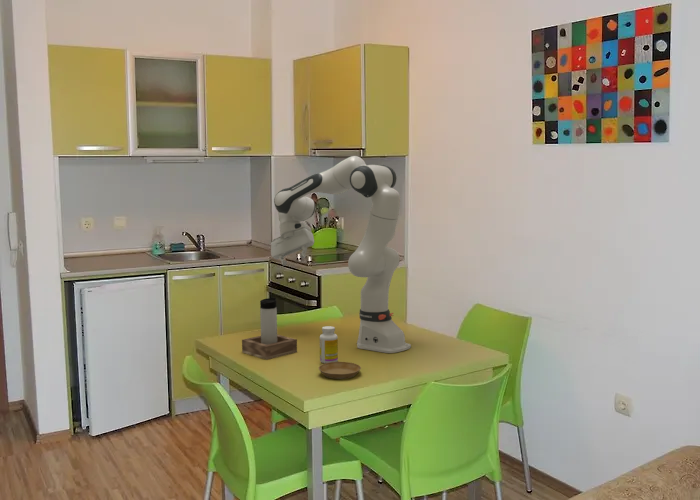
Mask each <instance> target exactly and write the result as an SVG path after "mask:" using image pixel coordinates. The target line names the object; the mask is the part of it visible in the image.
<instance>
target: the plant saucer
mask: <svg viewBox="0 0 700 500" xmlns="http://www.w3.org/2000/svg"><path fill="white" fill-rule="evenodd" d="M361 369H362V367H361V365H359V364H357V363H354V362H348V361H337V362H330V363H322V364H320V365H319V366H318V370H319V372H320V373H321V374H322V375H323V376H325V377H326V378H328V379H335V380H345V379H349V378H354V377H355V376H356V375H357V374H358V373H359V372H360V371H361Z"/></svg>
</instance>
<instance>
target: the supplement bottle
mask: <svg viewBox="0 0 700 500" xmlns="http://www.w3.org/2000/svg"><path fill="white" fill-rule="evenodd" d="M321 332H322V334H320V336H319V362H320V363H322V364H325V363H330V362H339V353H338V352H339V347H338V346H339V343H338V342H339V341H338V339H339V338H338V335H337V334H336V333H335V332H336V327H335V326H330V325H329V326H328V325H327V326H326V325H325V326H322V328H321Z"/></svg>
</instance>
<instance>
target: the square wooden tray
mask: <svg viewBox="0 0 700 500" xmlns="http://www.w3.org/2000/svg"><path fill="white" fill-rule="evenodd" d="M241 348H242V349H241V350H242V351H241V352H242V353H243V354H247V355H249V356H253V357H255V358H259V359H262V360H271V359H275V358H279V357H283V356H287V355H291V354H296V353H298V340H297V339H296V338H293V337H290V336H289V337H288V336H284V335H282V334H278V333H277V343H273V344H269V345H266V344H262V343H261V335H257V336H253V337H248V338H244V339H241Z"/></svg>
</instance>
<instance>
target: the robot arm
mask: <svg viewBox="0 0 700 500" xmlns="http://www.w3.org/2000/svg"><path fill="white" fill-rule="evenodd" d="M396 183H397V173H396V172H395V170H394V168H391V167H390V166H388V165H384V164H383V165H382V164H380V165H377V164H368V165H367V164H366V161H365V160H364V159H362V157H360V156H357V155H351V156H349V157H346V158H345V159H343V160H341V161H340V162H338V163H337V164H335V165H334V166H332V167H331V168H328V169H326V170H323V171H321V172H318V173H315V174H312V175H310V176H308V177H306V178H304V179H303V180H301V181H299V182H296V183H295V184H294V185H291V186H290V187H287V188H282V189H281V190H279V191H278V192H277V193H276V194H275V197H274V199H273V202H274V207H275V209H276V211H277V212H278V213H277V214H278V220H279V234H280V236H278V237H277V238H274V239H272V241H271V243H270V255H271V256H270V257H272V258H273V259H275V260H280V262H281V265H282V266H286V265H288V262H287V260H285V257H287V256H289V255H292V254H294V253H297V252H299V251H301V252H300V254H299V255H300V258H301V259H305V258H306V256H307V255H306V253H307V251H308V248H309V247H312V246H314V244H315V237H314V233H313V232H312V228H311V227H310V226H309V225H308V224H306V223H304V222H305V221H307V220H309V219H311V218H312V217H313V216H314V214H315V211H316V203H315V201H314V199H313V198H311V197H309V196H307V195H310V194H313V193H322V194H329V195H335V196H336V195H341V194H343V193H345V192H348V191H349V190H350V189H353V190H354V191H355V192H357V193H359V194H360V195H362V196H363V197H364V198H371V206H370V211H369V212H370V213H369V217H368V222H367V225H366V229H365V232H364V235H363V238H362V239H361V241H360V243H359V245H358V247H357V248H356V249H355V251H354V252H353V253H352V254H351V255H350V256H349V257H348V261H347V266H348V270H349V272H350V274H352V275H353V276H355V277H358V278H366V282H365V283H364V285H363V286H362V288H361V289H360V308H359V312H358V313H359V319H360V323H359V330H358V337H357V341H356V348H357V349H360V350H361V349H362V350H365V351H366V350H367V351H372V352H380V353H385V354H394V353H400V352H403V351H406V350H409V349H411V348H412V344H410V343H408V342H406V338H405V337H406V336H405V333H404V331H403V330H402V329H401V328H400V327H399V326H398V325H397V324H396V323H395V322H394V321H393V320H392V317H393V316H394V312H391V311H390V309H389V292H390V285H391V281H392V278H393V276H394V273H395V271H396V269H397V268H398V267H399V265H400V261H401V260H400V259H401V258H400V254H399V253H398V251H397V250H396V249H395V248H393V247H391V246H388V244H389V243H390V242H391V241H392V240H393V239H394V238H395V237H394V236H395V233H396V228H397V224H398V220H399V219H398V218H399V214H400V206H401V204H400V203H401V195H400V193H399V191H398V190H396V189H395V188H394V187H395V185H396Z"/></svg>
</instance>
